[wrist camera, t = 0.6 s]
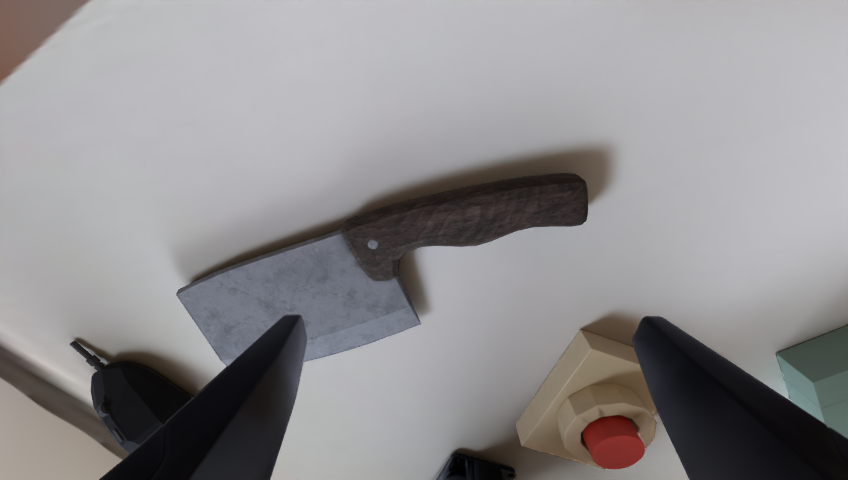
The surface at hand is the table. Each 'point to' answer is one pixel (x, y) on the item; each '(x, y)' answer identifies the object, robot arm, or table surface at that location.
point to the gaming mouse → (131, 399)
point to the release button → (613, 442)
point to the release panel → (587, 398)
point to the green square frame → (820, 377)
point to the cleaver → (368, 265)
